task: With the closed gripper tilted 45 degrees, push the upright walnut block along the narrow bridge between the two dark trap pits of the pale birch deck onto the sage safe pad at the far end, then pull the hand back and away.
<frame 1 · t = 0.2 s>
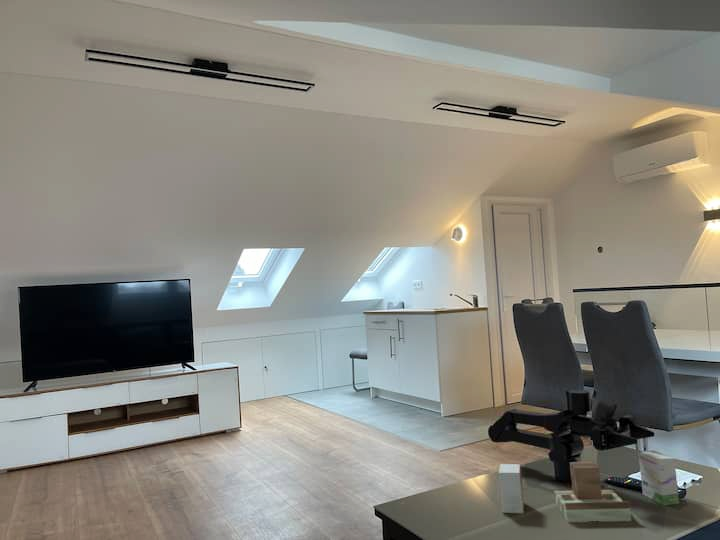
hand: (645, 437, 139), 17 cm above the table, tool horizontal, fingers open, 9 cm apart
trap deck: (591, 511, 135), on the table
ink box: (660, 500, 139), on the table
walnut block: (587, 495, 137), point 3 cm above the table, touching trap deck
small box: (513, 508, 141), on the table
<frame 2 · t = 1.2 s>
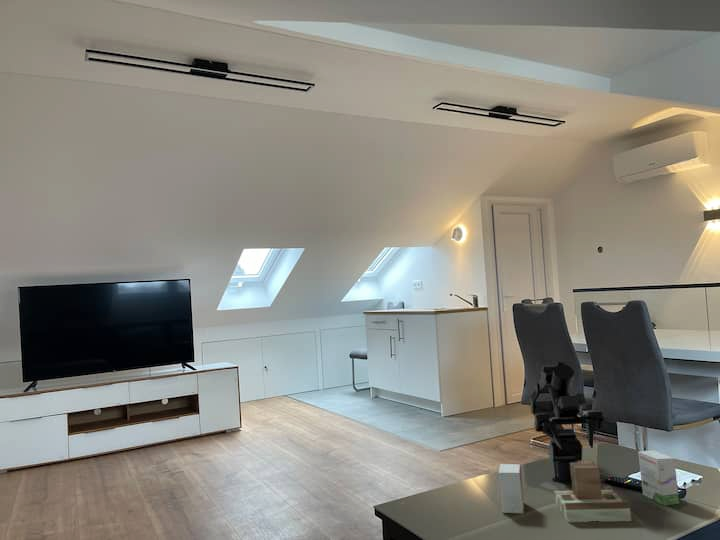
hand: (576, 447, 145), 14 cm above the table, tool tilted 45°, fingers open, 8 cm apart
nothing on the table moved.
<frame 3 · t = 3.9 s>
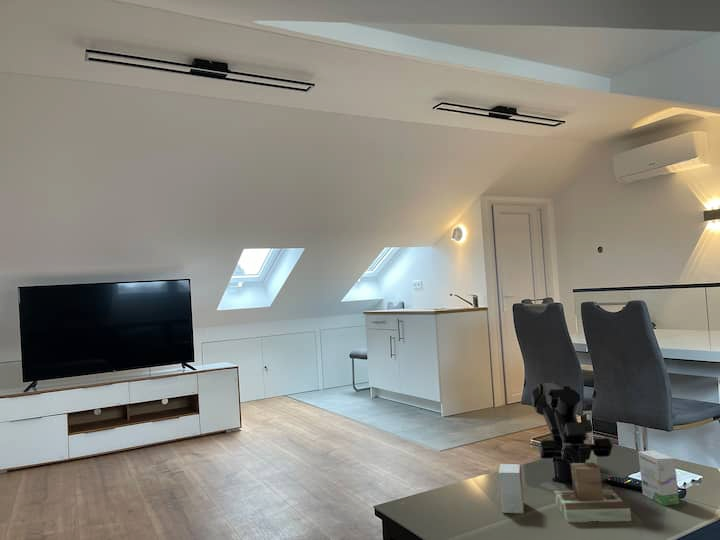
hand: (583, 476, 139), 7 cm above the table, tool tilted 45°, fingers closed
nothing on the table moved.
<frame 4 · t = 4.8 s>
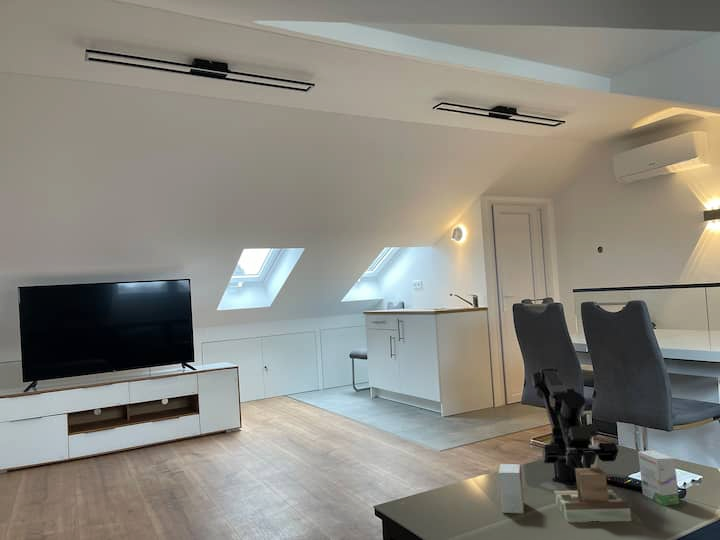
hand: (588, 482, 135), 7 cm above the table, tool tilted 45°, fingers closed, pressing on walnut block
walnut block: (593, 503, 132), point 3 cm above the table, touching gripper
everything else where it was.
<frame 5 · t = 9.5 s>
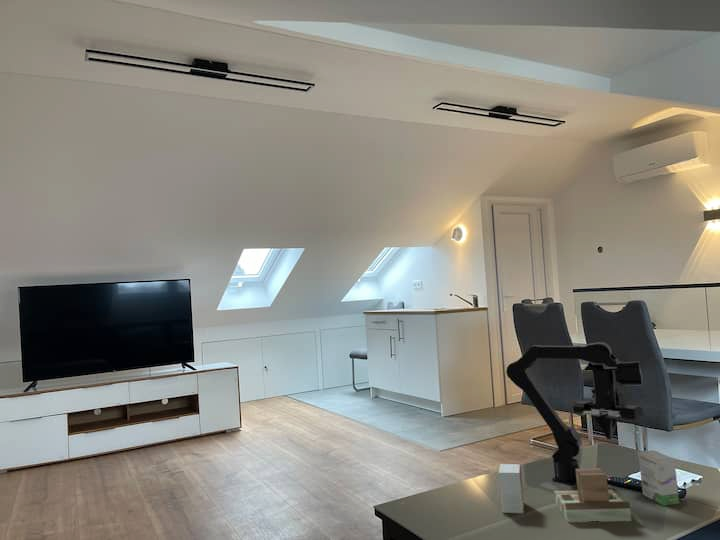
hand: (609, 439, 153), 13 cm above the table, tool pointing down, fingers closed
walnut block: (593, 504, 132), point 3 cm above the table, touching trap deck
everything else where it was.
at the end: walnut block 0.3 cm from the target spot on the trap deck, point 3.0 cm above the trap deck's base; walnut block tilted 0° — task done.
